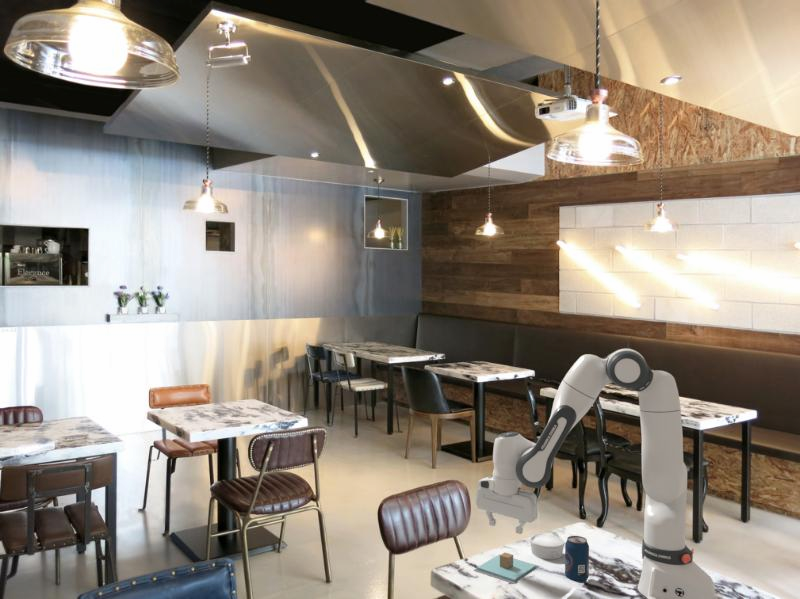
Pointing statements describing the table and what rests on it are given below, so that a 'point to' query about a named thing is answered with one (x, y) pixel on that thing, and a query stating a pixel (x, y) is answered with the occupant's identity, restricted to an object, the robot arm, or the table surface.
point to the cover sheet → (506, 572)
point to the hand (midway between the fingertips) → (505, 529)
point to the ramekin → (547, 546)
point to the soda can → (577, 558)
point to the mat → (504, 578)
